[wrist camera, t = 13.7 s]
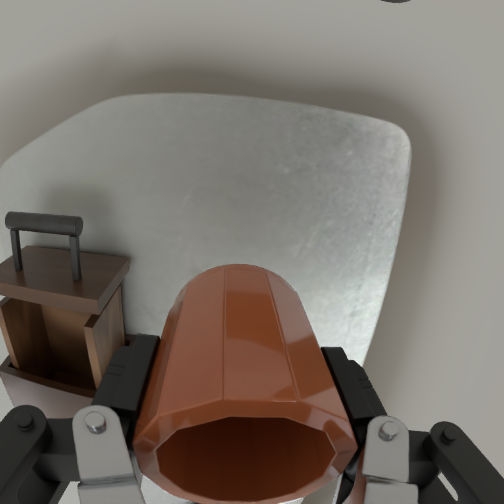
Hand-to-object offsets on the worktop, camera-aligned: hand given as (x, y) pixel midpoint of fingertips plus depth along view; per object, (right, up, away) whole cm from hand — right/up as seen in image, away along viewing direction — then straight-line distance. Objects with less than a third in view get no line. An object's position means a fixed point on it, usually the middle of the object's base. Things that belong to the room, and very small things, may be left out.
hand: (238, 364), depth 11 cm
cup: (0, +1, +2) cm, 3 cm away
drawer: (-17, -1, +17) cm, 24 cm away
